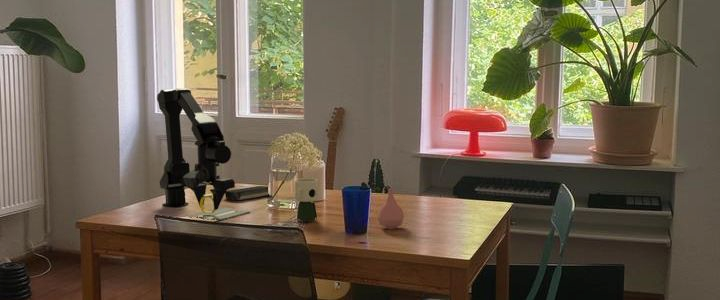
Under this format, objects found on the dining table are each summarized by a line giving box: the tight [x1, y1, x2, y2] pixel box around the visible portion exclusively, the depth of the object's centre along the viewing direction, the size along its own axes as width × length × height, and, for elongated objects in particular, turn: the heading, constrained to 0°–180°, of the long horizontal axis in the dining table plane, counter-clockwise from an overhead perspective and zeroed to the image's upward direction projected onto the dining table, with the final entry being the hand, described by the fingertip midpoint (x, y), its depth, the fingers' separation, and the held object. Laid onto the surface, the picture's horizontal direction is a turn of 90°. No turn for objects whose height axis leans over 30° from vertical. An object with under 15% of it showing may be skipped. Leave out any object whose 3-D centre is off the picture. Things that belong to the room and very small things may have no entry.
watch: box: [199, 193, 216, 213], centre depth 243 cm, size 6×3×6 cm, turn 64°
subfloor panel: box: [182, 206, 251, 221], centre depth 243 cm, size 13×22×1 cm, turn 145°
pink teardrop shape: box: [377, 187, 405, 230], centre depth 225 cm, size 8×8×12 cm
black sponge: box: [224, 185, 269, 201], centre depth 274 cm, size 16×8×4 cm, turn 134°
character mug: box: [294, 177, 319, 222], centre depth 235 cm, size 11×7×13 cm, turn 156°
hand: (208, 208), depth 243 cm, fingers closed on watch, 6 cm apart
